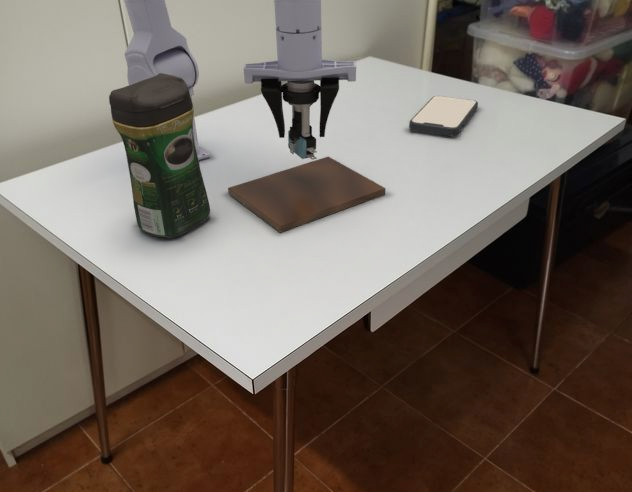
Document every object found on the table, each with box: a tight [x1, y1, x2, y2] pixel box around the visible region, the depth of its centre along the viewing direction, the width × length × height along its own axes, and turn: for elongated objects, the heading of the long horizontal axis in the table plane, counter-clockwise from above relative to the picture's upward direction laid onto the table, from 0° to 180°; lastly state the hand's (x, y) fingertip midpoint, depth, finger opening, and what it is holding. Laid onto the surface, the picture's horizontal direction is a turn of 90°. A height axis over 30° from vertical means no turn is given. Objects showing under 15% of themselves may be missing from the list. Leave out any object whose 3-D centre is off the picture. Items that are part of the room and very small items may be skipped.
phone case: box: [408, 95, 479, 137], centre depth 111 cm, size 9×2×16 cm
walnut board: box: [227, 156, 386, 233], centre depth 90 cm, size 18×14×1 cm
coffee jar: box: [108, 73, 211, 239], centre depth 79 cm, size 10×8×19 cm
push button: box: [281, 81, 320, 161], centre depth 85 cm, size 7×5×10 cm
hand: (302, 134), depth 87 cm, fingers closed on push button, 5 cm apart
